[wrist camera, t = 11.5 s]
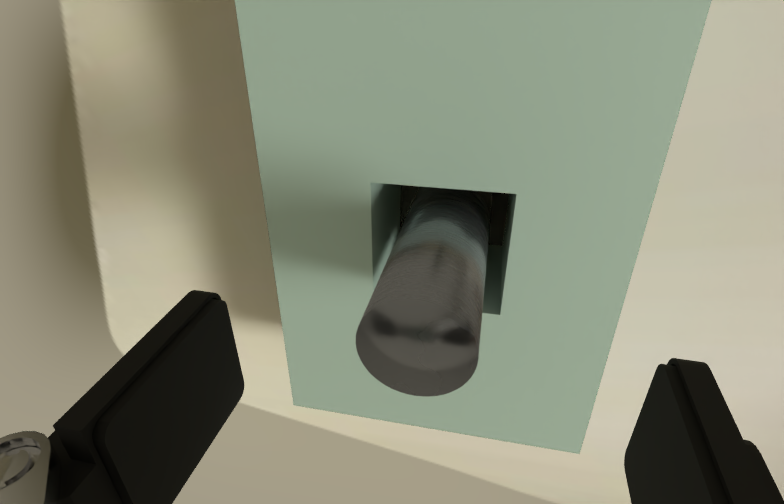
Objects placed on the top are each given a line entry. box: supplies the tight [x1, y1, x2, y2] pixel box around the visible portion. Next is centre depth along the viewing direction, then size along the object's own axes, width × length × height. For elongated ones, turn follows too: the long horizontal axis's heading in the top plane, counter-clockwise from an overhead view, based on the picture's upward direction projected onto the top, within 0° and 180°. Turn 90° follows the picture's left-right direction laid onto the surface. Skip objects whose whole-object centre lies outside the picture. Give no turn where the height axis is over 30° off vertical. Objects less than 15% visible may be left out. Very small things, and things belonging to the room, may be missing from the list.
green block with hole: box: [235, 0, 712, 454], centre depth 18 cm, size 17×12×5 cm
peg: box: [356, 186, 492, 397], centre depth 16 cm, size 3×3×10 cm
